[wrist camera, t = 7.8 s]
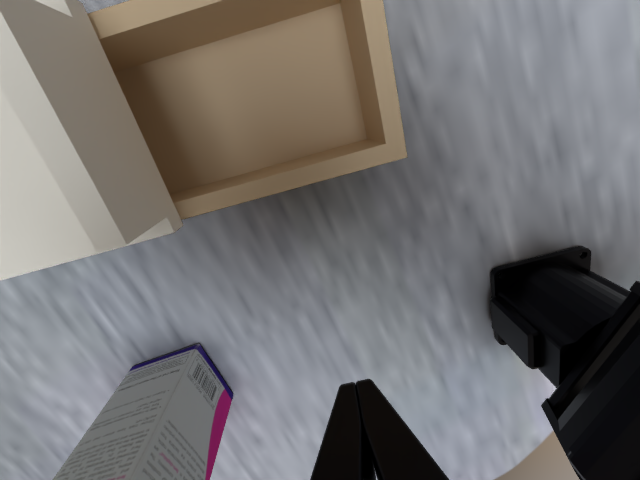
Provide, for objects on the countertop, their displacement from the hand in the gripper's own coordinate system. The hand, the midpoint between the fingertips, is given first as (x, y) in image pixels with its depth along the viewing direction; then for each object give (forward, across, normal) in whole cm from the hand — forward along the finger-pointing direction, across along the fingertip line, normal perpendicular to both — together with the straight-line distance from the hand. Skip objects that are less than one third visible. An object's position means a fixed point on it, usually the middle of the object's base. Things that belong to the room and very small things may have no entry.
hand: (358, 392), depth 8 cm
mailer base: (+12, +4, -8) cm, 15 cm away
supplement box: (+13, +14, +9) cm, 21 cm away
